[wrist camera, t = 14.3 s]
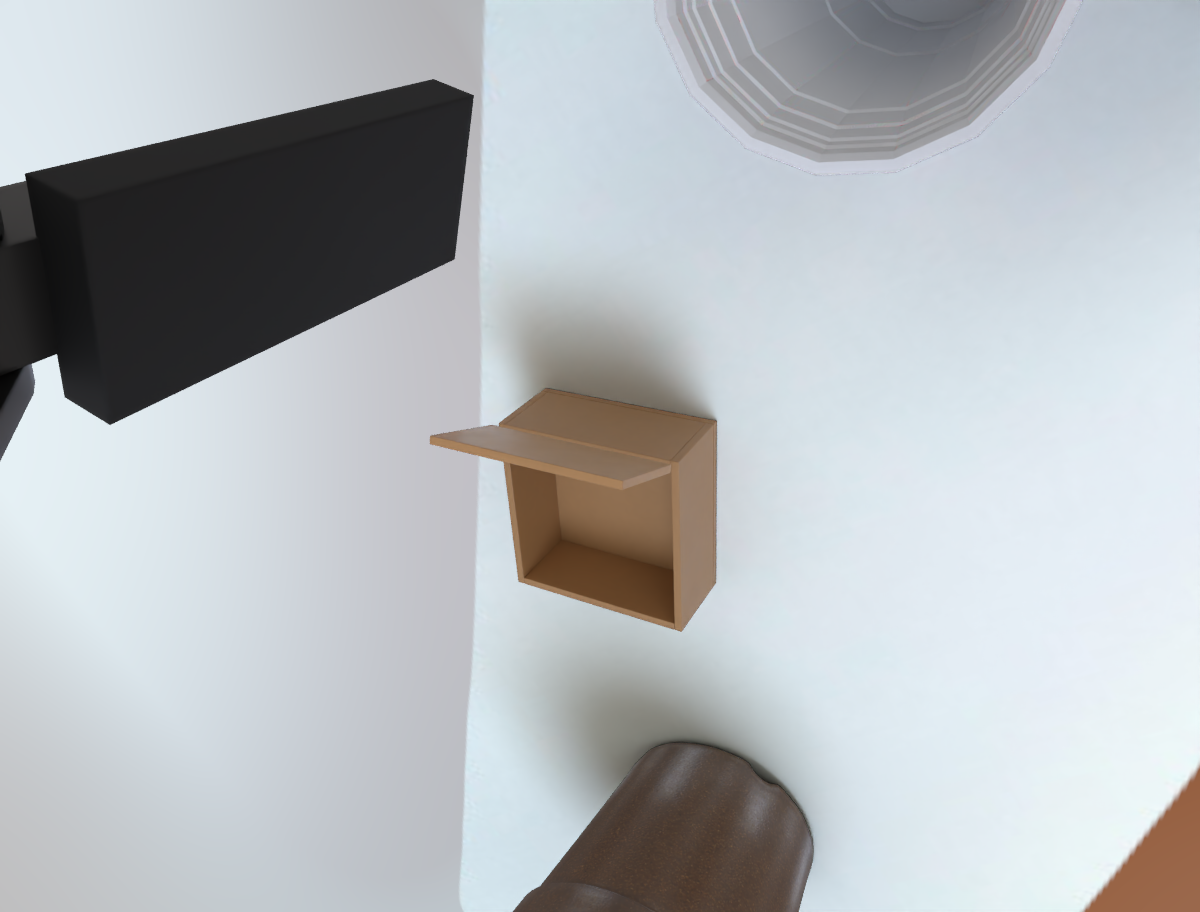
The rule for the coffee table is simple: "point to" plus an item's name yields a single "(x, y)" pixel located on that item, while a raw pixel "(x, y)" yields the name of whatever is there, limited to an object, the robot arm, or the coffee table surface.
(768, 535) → the coffee table surface
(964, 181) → the coffee table surface
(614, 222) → the coffee table surface
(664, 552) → the carton
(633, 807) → the plant pot
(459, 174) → the robot arm
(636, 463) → the flap
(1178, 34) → the coffee table surface
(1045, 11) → the plastic cup
